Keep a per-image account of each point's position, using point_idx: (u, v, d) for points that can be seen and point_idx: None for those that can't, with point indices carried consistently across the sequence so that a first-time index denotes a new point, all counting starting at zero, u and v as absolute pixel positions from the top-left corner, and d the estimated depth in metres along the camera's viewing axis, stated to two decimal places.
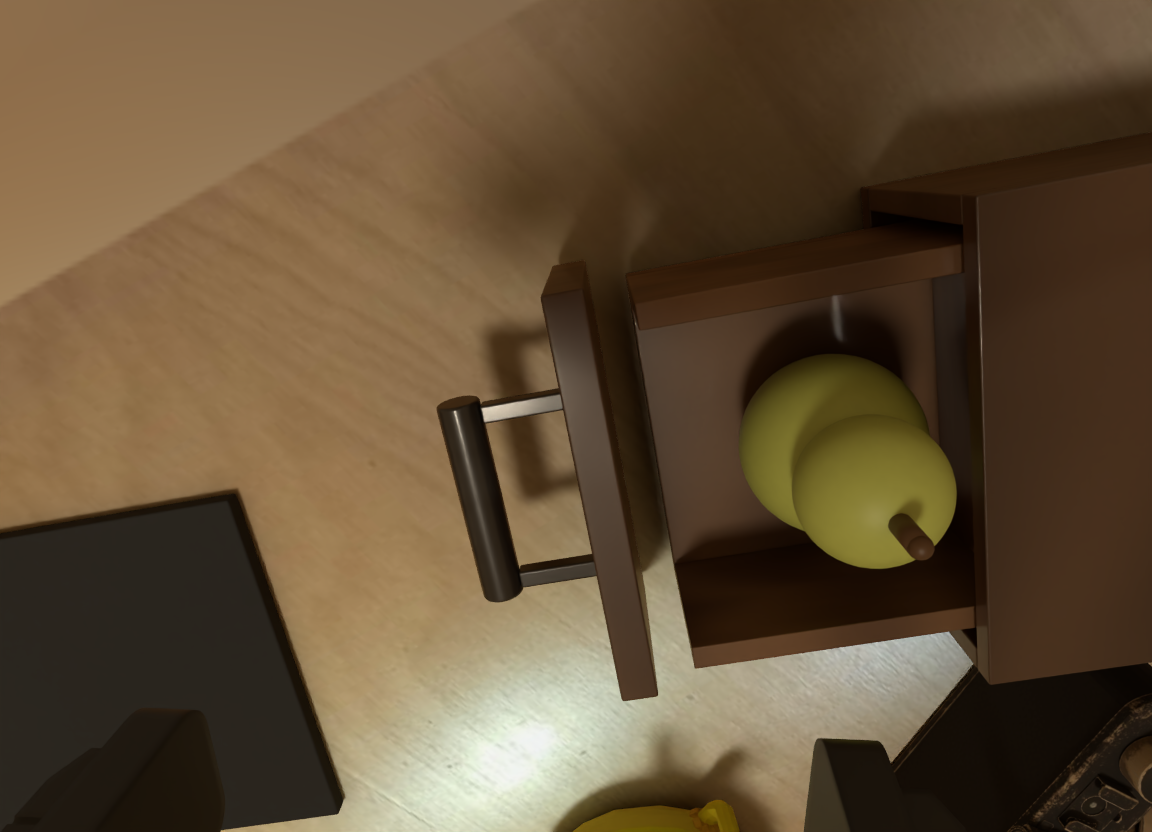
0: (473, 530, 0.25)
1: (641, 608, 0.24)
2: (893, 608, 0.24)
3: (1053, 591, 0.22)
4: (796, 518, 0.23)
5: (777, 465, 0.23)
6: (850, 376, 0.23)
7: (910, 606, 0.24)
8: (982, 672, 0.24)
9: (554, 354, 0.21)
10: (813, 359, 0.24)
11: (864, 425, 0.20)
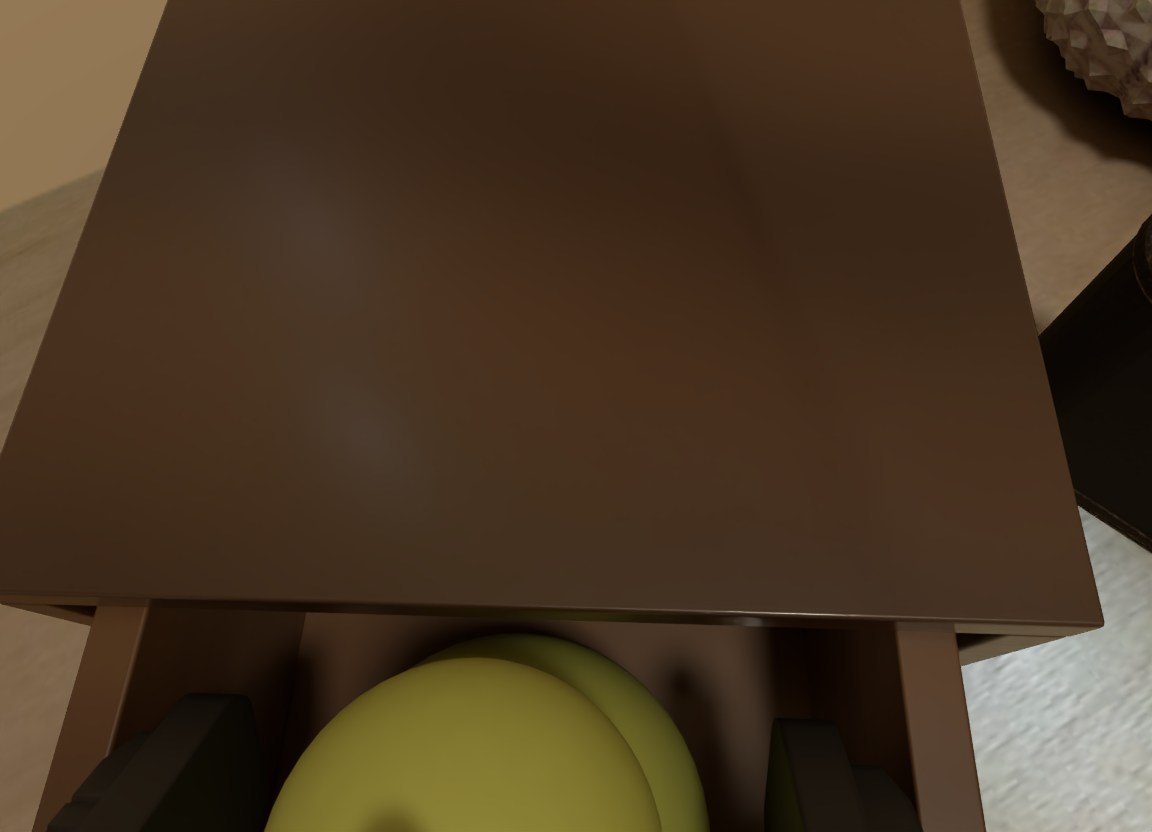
0: None
1: None
2: (899, 776, 0.10)
3: (833, 471, 0.10)
4: None
5: None
6: None
7: (895, 733, 0.10)
8: (1074, 632, 0.09)
9: None
10: None
11: None
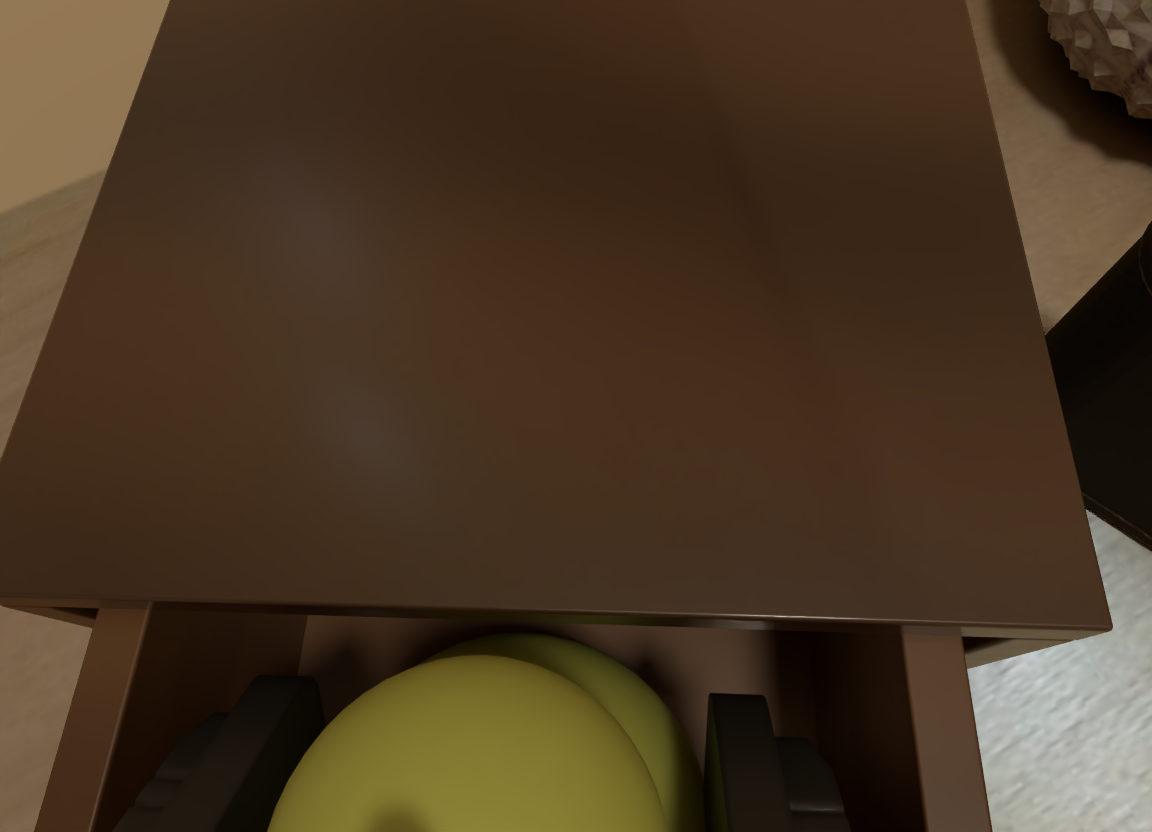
0: None
1: None
2: (905, 777, 0.10)
3: (839, 474, 0.10)
4: None
5: None
6: None
7: (900, 734, 0.10)
8: (1082, 636, 0.09)
9: None
10: None
11: None
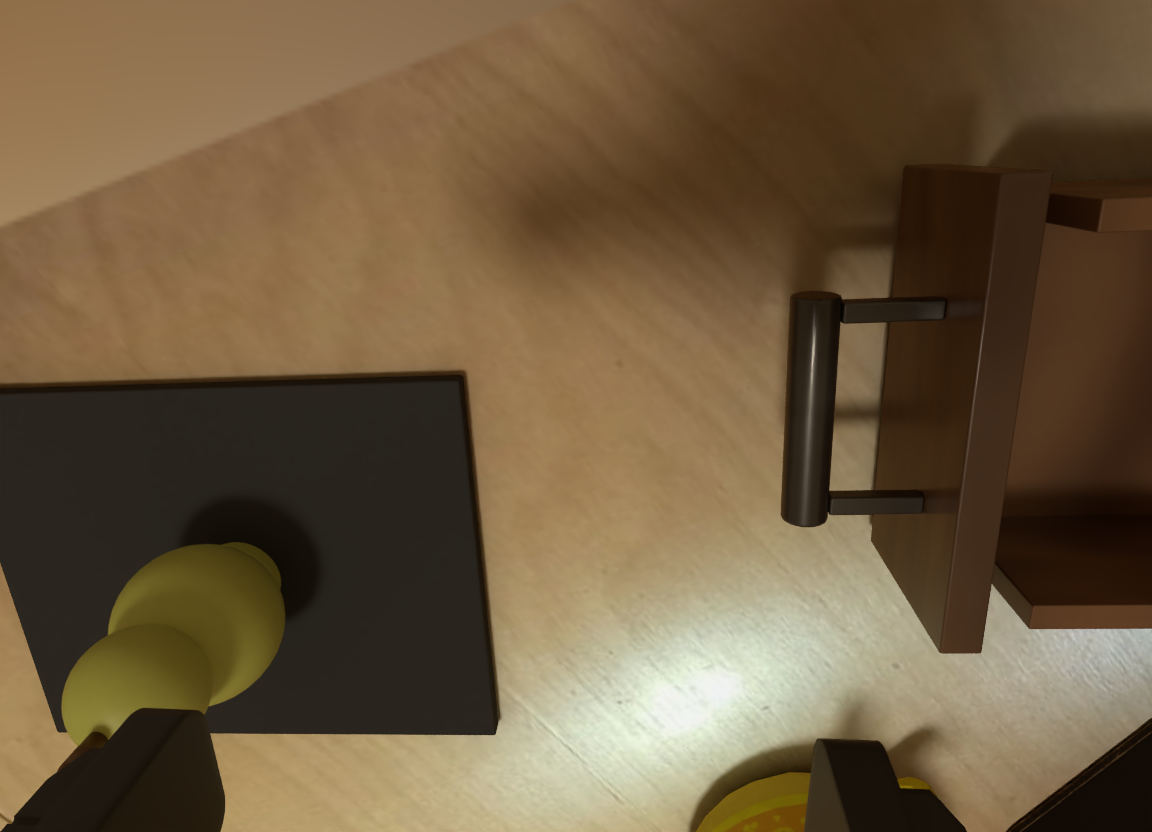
0: (799, 442, 0.23)
1: (995, 553, 0.21)
2: None
3: None
4: None
5: None
6: (176, 582, 0.26)
7: None
8: None
9: (994, 245, 0.19)
10: (177, 554, 0.27)
11: (114, 644, 0.24)
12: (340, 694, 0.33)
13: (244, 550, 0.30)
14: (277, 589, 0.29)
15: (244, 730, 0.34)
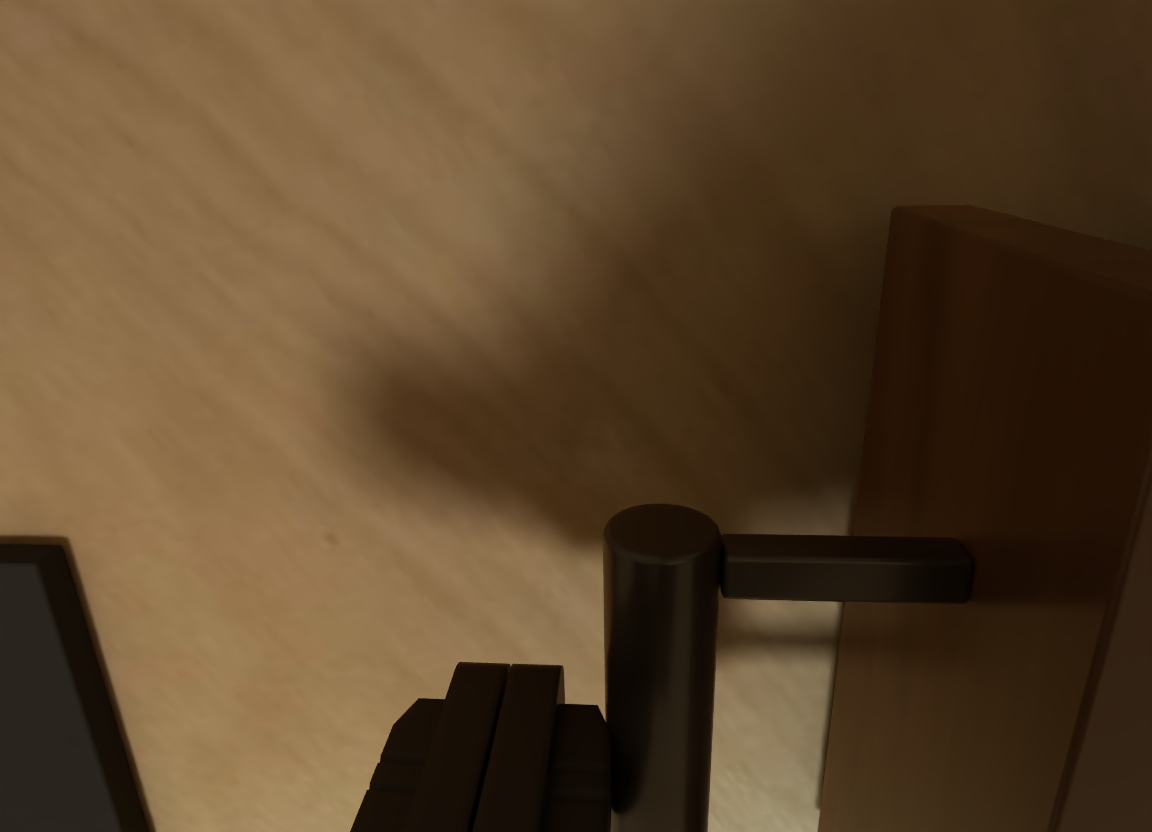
0: None
1: None
2: None
3: None
4: None
5: None
6: None
7: None
8: None
9: (1141, 521, 0.06)
10: None
11: None
12: None
13: None
14: None
15: None
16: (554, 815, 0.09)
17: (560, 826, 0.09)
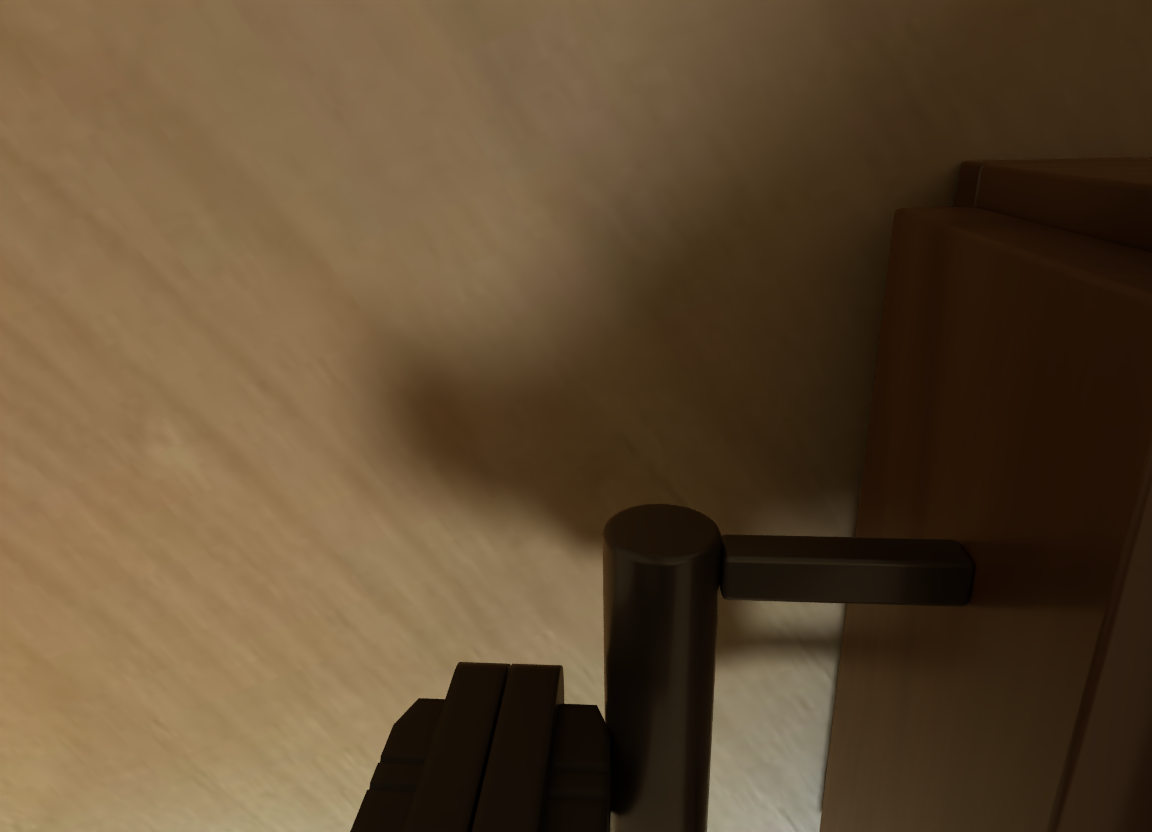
0: None
1: None
2: None
3: None
4: None
5: None
6: None
7: None
8: None
9: (1141, 523, 0.06)
10: None
11: None
12: None
13: None
14: None
15: None
16: (553, 815, 0.09)
17: (559, 826, 0.09)
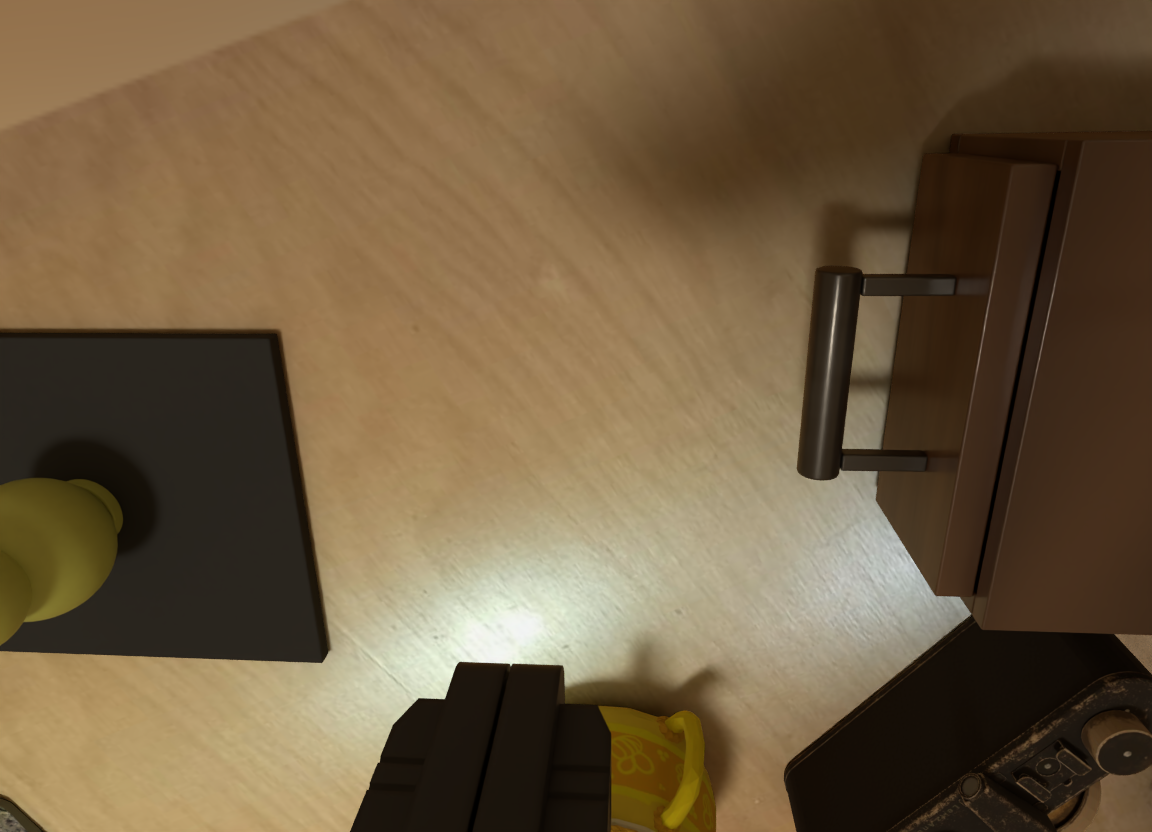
0: (817, 402, 0.25)
1: (989, 506, 0.24)
2: None
3: (1063, 549, 0.23)
4: None
5: None
6: (3, 508, 0.29)
7: None
8: (976, 617, 0.25)
9: (1002, 229, 0.21)
10: (10, 484, 0.30)
11: None
12: (182, 621, 0.36)
13: (85, 486, 0.33)
14: (107, 520, 0.32)
15: (99, 652, 0.37)
16: (554, 815, 0.09)
17: (560, 826, 0.09)
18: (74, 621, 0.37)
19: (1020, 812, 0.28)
